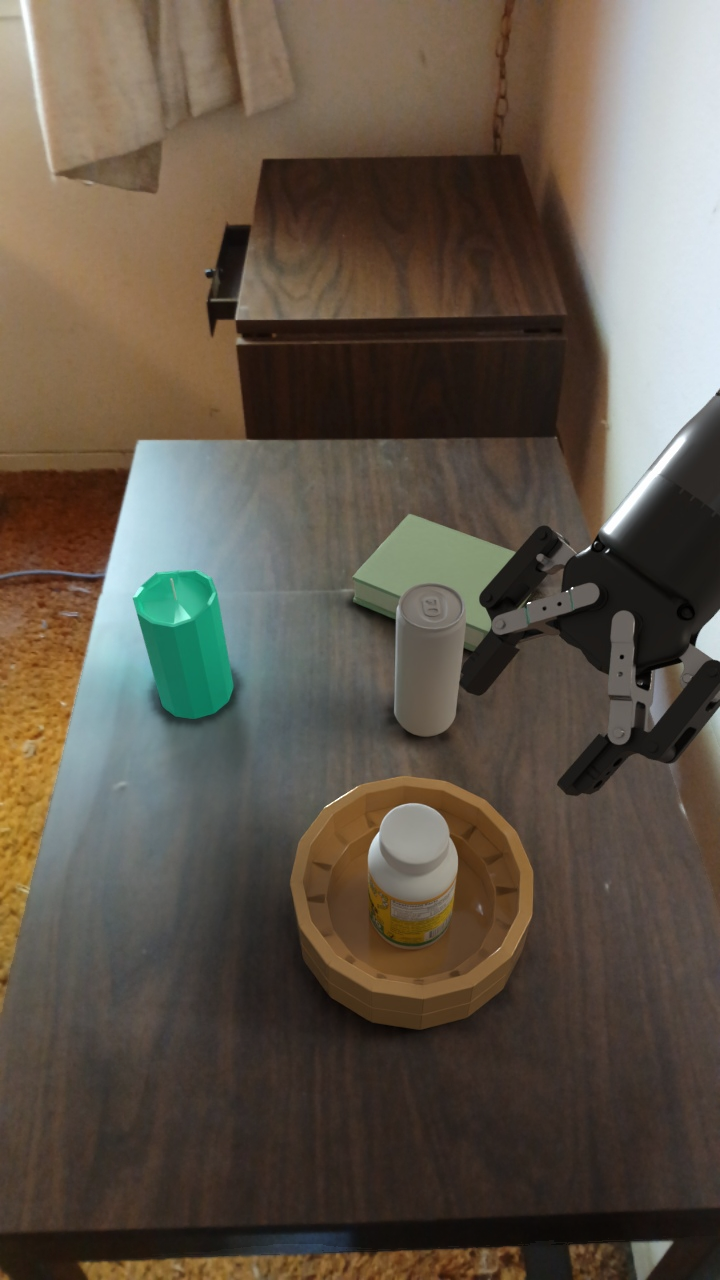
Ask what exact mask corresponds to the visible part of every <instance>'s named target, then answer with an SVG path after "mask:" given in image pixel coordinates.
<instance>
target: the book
mask: <svg viewBox="0 0 720 1280" xmlns="http://www.w3.org/2000/svg"><path fill="white" fill-rule="evenodd" d="M516 552H517V551H514V550H511V549H508V548H506V547H503V546H500V545H497V544H494V543H492V542H489V541H486V540H484V539H481V538H478V537H475V536H472V535H470V534H467V533H464V532H461V531H459V530H456V529H453V528H452V527H451V528H450V527H448V526H445V525H442V524H440V523H437V522H434V521H431V520H428V519H426V518H423V517H420V516H418V515H415V514H412V513H408V514H407V516H406V517H405V518H403V520H402V521H401V522H400V523H399V525H397V526H396V528H395V529H394V530H393V531H392V532H391V533H390V534H389V535H388V537H387V538H386V539H385V540H384V541H383V542H382V543H381V544H380V545H379V547H378V548H376V550H375V551H374V552H373V553H372V554H371V556H370V557H368V559H367V560H366V561H365V562H364V563H363V564H362V566H360V568H359V569H358V570H357V571H356V572H355V573H354V575H353V576H352V581H353V582H354V597H353V598H352V602H353V603H355V604H357V605H360V606H362V607H364V608H367V609H369V610H371V611H374V612H376V613H378V614H381V615H384V616H386V617H388V618H391V619H393V620H396V613H397V607H398V605H399V600H400V598H401V595H402V594H403V593H404V592H405V591H406V590H408V589H409V588H411V587H412V586H415V585H418V584H422V583H439V584H443V585H446V586H449V587H451V588H453V589H454V590H456V591H457V592H458V593H459V594H460V595H461V596H462V598H463V600H464V602H465V610H466V627H465V636H464V646H463V649H465V650H468V651H470V652H471V653H473V651H475V649H476V648H477V646H478V645H479V644H480V643H481V641H482V640H483V639H484V638H485V636H486V635H487V634H488V632H489V631H490V628H491V619H490V617H489V615H488V612H487V610H486V608H484V607H483V606H481V604H480V602H479V596H480V594H481V592H482V591H483V590H484V589H485V588H486V586H487V585H488V584H489V583H490V582H491V581H492V580H493V578H494V577H495V576H496V575H497V574H498V573H499V571H500V570H501V569H502V568H503V567H504V566H505V565H506V563H507V562H508V561H509V560H510V559H511V558H512V557H513V555H514V554H515V553H516ZM531 595H532V593H531V594H530V595H529V596H528V597H527V599H526V600H525V601H524V602H523V603H522V604H521V605H520V606H519V607H518V609H520V608H523V607H524V605H525V604H526V602H527V600H528V599H529V598H530V596H531Z"/></svg>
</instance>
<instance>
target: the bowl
mask: <svg viewBox="0 0 720 1280" xmlns="http://www.w3.org/2000/svg"><path fill="white" fill-rule="evenodd" d="M412 803H413V804H422V805H426V806H428V807H431V808H432V809H434V810H436V811H437V812H438V813H439V814H440V815H441V816H442V817H443V818H444V820H445V821H446V823H447V825H448V829H449V837H450V838H451V840H452V841H453V843H454V845H455V848H456V851H457V855H458V870H457V878H456V885H455V892H454V901H453V909H452V916H451V921H450V924H449V926H448V928H447V930H446V932H445V933H444V935H443V936H442V937H441V938H440V939H439V940H438V941H436V942H435V943H433V944H431V945H430V946H427V947H425V948H421V949H402V948H398V947H395V946H393V945H391V944H389V943H388V942H386V941H385V940H384V939H383V938H382V937H381V936H380V935H379V934H378V932H377V931H376V929H375V928H374V926H373V924H372V922H371V919H370V915H369V898H368V854H369V849H370V846H371V843H372V841H373V839H374V838H375V836H376V835H377V834H378V833H379V831H380V826H381V823H382V821H383V819H384V817H385V816H386V815H387V814H388V813H389V812H390V811H391V810H393V809H394V808H396V807H398V806H401V805H404V804H412ZM289 886H290V888H289V889H290V894H291V901H292V910H293V915H294V921H295V926H296V930H297V936H298V940H299V941H298V942H299V945H300V951H301V956H302V959H303V961H304V963H305V965H307V967H308V968H309V970H310V971H311V973H312V974H313V976H314V977H315V978H316V980H317V981H318V982H319V984H320V985H321V987H322V988H323V990H324V991H325V993H326V994H327V995H328V996H329V997H330V998H331V999H333V1000H334V1001H336V1002H337V1003H339V1004H341V1005H342V1006H344V1007H346V1008H347V1009H349V1010H350V1011H352V1012H354V1013H356V1014H357V1015H358V1016H360V1017H362V1018H363V1019H365V1020H366V1021H369V1022H370V1023H372V1024H379V1025H387V1026H393V1027H399V1028H406V1029H412V1030H418V1031H419V1030H424V1029H428V1028H429V1029H430V1028H433V1027H438V1026H440V1025H444V1024H448V1023H452V1022H456V1021H460V1020H464V1019H466V1018H469V1017H470V1016H471V1015H473V1014H474V1013H475V1012H477V1011H478V1010H479V1009H480V1008H481V1007H483V1006H484V1005H485V1004H486V1003H488V1002H489V1001H490V1000H492V998H494V997H495V996H497V995H498V994H499V993H500V992H501V991H502V990H504V989H505V987H506V985H507V983H508V981H509V979H510V977H511V974H512V972H513V971H514V969H515V966H516V965H517V963H518V961H519V958H520V957H521V955H522V953H523V951H524V947H525V944H526V941H527V937H528V934H529V933H528V932H529V929H530V926H531V922H532V919H533V914H534V913H533V911H534V909H533V907H534V870H533V867H532V865H531V863H530V860H529V858H528V856H527V853H526V849H524V845H523V843H522V841H521V839H520V836H519V834H518V831H516V830H515V828H514V827H513V826H512V825H511V824H510V823H509V822H508V821H507V820H506V819H505V818H504V817H503V816H502V815H501V814H500V813H499V812H498V811H497V810H496V809H495V808H494V807H493V806H492V805H491V803H489V802H488V801H487V800H486V799H485V798H482V797H480V796H478V795H476V794H474V793H472V792H470V791H468V790H465V789H464V788H462V787H459V786H458V785H456V784H453V783H451V782H449V781H446V780H441V779H440V780H439V779H432V778H424V777H415V776H407V775H403V776H402V775H401V776H396V777H391V778H387V779H386V778H385V779H382V780H381V779H380V780H377V781H372V782H367V783H363V784H359V785H358V786H356V787H354V788H353V789H351V790H350V791H347V793H345V794H343V795H341V796H339V798H337V799H335V800H334V801H332V802H331V803H329V804H327V805H326V806H324V807H323V808H322V810H321V811H320V813H319V814H318V815H317V817H316V818H315V819H314V821H313V822H312V823H311V825H310V826H309V827H308V829H307V830H306V831H305V833H304V834H303V836H302V837H301V838H300V840H299V841H298V844H297V849H296V854H295V857H294V862H293V866H292V870H291V876H290V880H289Z"/></svg>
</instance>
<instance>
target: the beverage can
mask: <svg viewBox="0 0 720 1280" xmlns="http://www.w3.org/2000/svg"><path fill="white" fill-rule="evenodd" d="M465 627H466V610H465V602H464V600H463V598H462V596H461V595H460V594H459V593H458V592H457V591H456V590H454V589H453V588H451V587H449V586H446V585H443V584H439V583H422V584H418V585H415V586H412V587H411V588H409V589H408V590H406V591H405V592H404V593H403V594H402V595H401V598H400V600H399V605H398V607H397V613H396V619H395V656H394V657H395V660H394V661H395V663H394V664H395V666H394V705H393V706H394V707H393V714H394V716H395V719H396V721H397V723H399V724H400V726H401V727H402V728H403V729H404V730H405V731H407V732H408V733H410V734H412V735H413V736H414V735H415V736H418V737H427V738H428V737H434V736H437V735H439V734H442V733H444V732H445V731H447V730H448V729H449V728H450V727H451V726H452V724H453V723H454V720H455V718H456V715H457V705H458V697H459V696H458V695H459V688H460V685H459V681H460V679H461V674H462V673H461V670H462V666H463V664H462V663H463V655H464V648H463V646H464V636H465Z"/></svg>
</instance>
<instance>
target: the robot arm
mask: <svg viewBox="0 0 720 1280" xmlns="http://www.w3.org/2000/svg"><path fill="white" fill-rule="evenodd" d="M570 545H571V543H570V541H569V539H568V538H566V537H565V536H563V535H561V534H560V533H559V532H558V531H556V530H554V529H553V528H552V527H550V526H548V525H540V526H539V527H537V528H536V529H535V530H534V531H533V532H532V533H531V535H530V536H528V538H527V539H526V540H525V541H524V543H523V544H522V545H521V546H520V548H519V549H518V550H517V551H515V552H516V553H515V554H514V555H513V557H512V558H511V559H510V560H509V561H508V562H507V563H506V565H505V566H504V567H503V568H502V569H501V570H500V571H499V573H498V574H497V575H496V576H495V577H494V578H493V580H492V581H491V582H490V583H489V584H488V585H487V586H486V588H485V589H484V590H483V591H482V592H481V594H480V596H479V602H480V604H481V606H483V607H484V608H486V610H487V612H488V615H489V617H490V619H491V628H490V631H489V632H488V634H487V635H486V636H485V638H484V639H483V640H482V641H481V643H480V644H479V645H478V646H477V648H476V649H475V651H473V652H471V653H470V656H468V658H467V659H466V660H465V661H464V663H463V664H462V666H461V673H460V674H462V676H461V677H460V681H459V687H461V688H462V689H463V690H464V691H465V692H466V693H468V694H471V695H474V696H477V697H480V696H483V695H484V694H485V693H487V692H488V690H489V689H490V688H491V687H492V685H493V684H494V683H495V681H496V680H497V679H498V678H499V676H500V675H501V674H502V673H503V672H504V671H505V669H506V668H507V667H508V666H509V665H510V664H511V662H512V661H513V659H514V658H515V657H516V656H517V654H518V653H519V652H520V651H521V649H520V648H519V647H518V646H517V645H518V644H522V643H525V642H528V641H531V640H535V639H539V638H542V637H549V636H550V637H553V636H558V637H560V638H561V639H562V640H563V641H564V642H565V643H566V644H567V645H570V646H571V647H574V648H576V649H578V650H580V651H581V653H582V654H583V656H584V657H585V659H586V661H587V662H588V663H589V664H590V665H591V666H592V667H594V668H595V669H596V670H597V671H599V672H601V673H603V674H606V675H608V683H607V696H608V698H609V715H608V723H607V725H608V726H607V733H606V734H602V733H598V734H597V735H596V736H595V738H593V739H592V741H591V742H590V743H589V744H588V745H587V747H586V748H585V749H584V750H583V751H582V752H581V753H580V754H579V756H578V757H577V758H576V759H575V760H574V761H573V763H572V764H571V765H570V766H569V767H568V768H567V770H566V771H565V772H564V773H563V774H562V776H560V777H559V779H557V782H556V786H557V787H558V788H559V789H560V790H561V791H562V792H563V793H564V794H565V795H567V796H573V797H578V796H580V795H582V794H583V795H592V794H594V793H596V792H598V791H600V790H601V789H602V788H603V786H604V785H605V784H606V783H607V782H608V781H609V779H611V777H612V776H613V775H614V774H615V773H616V772H617V770H619V769H620V768H621V766H622V765H623V764H624V763H625V762H626V760H627V759H628V758H630V757H631V756H633V755H640V756H643V757H645V759H647V760H651V761H656V762H659V763H663V764H666V765H671V764H674V763H676V762H677V761H678V760H679V758H680V757H681V756H682V755H683V753H684V752H685V751H686V750H687V749H688V747H689V746H690V745H691V744H692V742H693V741H694V740H695V739H696V737H698V735H699V733H700V732H701V731H702V730H703V729H704V727H705V726H706V725H707V724H708V723H709V721H710V720H711V719H712V717H713V716H714V715H715V713H716V712H717V711H718V710H719V709H720V660H717V659H713V657H710V655H708V654H706V653H705V652H704V651H702V650H700V649H699V648H697V647H696V645H697V641H698V637H699V635H700V632H701V631H702V629H703V628H704V627H705V626H706V625H707V624H708V623H709V622H710V621H711V620H712V619H713V618H714V617H715V616H716V614H717V613H718V612H719V611H720V388H719V389H718V390H717V391H715V394H714V395H713V396H712V397H711V398H710V399H709V400H708V401H707V403H706V404H705V405H704V406H703V407H702V408H701V409H700V410H699V411H697V413H696V414H695V415H693V417H691V419H689V420H688V421H687V422H686V423H685V424H684V425H683V426H682V427H681V428H680V430H679V431H678V432H677V433H676V434H675V435H674V437H672V439H671V440H670V441H669V442H668V444H667V445H666V446H665V447H664V449H663V450H662V451H661V453H659V455H658V456H657V458H656V459H655V460H654V461H653V462H652V463H651V465H650V466H649V467H648V468H647V470H646V471H645V473H643V474H642V476H641V477H640V478H639V480H638V481H637V482H636V483H635V485H634V486H633V487H632V488H631V490H629V492H628V493H627V494H626V495H625V497H624V498H623V499H622V500H621V502H620V503H619V505H617V507H616V508H615V510H614V511H613V512H612V513H611V514H610V515H609V517H608V518H607V519H606V520H605V521H604V523H603V524H602V526H601V527H600V528H599V529H598V532H597V534H596V536H595V538H594V540H593V542H592V543H591V544H590V545H589V546H588V547H587V548H585V549H583V550H582V551H580V552H577V551H575V550H574V549H573V548H572V547H571V546H570ZM561 570H563V571H562V578H561V588H560V592H558V593H556V594H552V595H549V596H546V597H543V598H539V599H536V600H533V601H530V602H527V603H525V604H524V605H525V606H522V608H520V609H518V607H519V606H520V605H521V604H522V603H523V602H524V601H525V600H526V599H527V597H528V596H529V595H530V594H531V595H532V593H533V592H534V591H535V590H536V589H537V588H538V586H539V585H541V584H542V582H543V581H544V580H545V579H546V577H548V576H552V575H553V576H554V575H555V574H557V573H558V572H560V571H561ZM531 595H530V596H531ZM530 596H529V597H530ZM527 600H528V599H527ZM527 600H526V601H527ZM680 664H683V669H682V670H683V671H682V673H681V674H680V677H679V685H680V687H681V689H682V690H681V692H680V693H679V694H678V695H677V696H676V698H675V699H674V701H673V702H672V703H671V704H670V706H669V707H668V708H667V709H666V710H665V712H664V713H663V715H661V717H660V719H659V720H658V721H657V722H656V724H654V726H653V727H652V729H651V730H650V731H648V727H649V715H650V714H649V713H650V709H651V707H652V706H653V702H654V694H655V681H656V680H655V679H656V671H657V670H660V669H663V668H668V667H671V666H675V665H680Z"/></svg>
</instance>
